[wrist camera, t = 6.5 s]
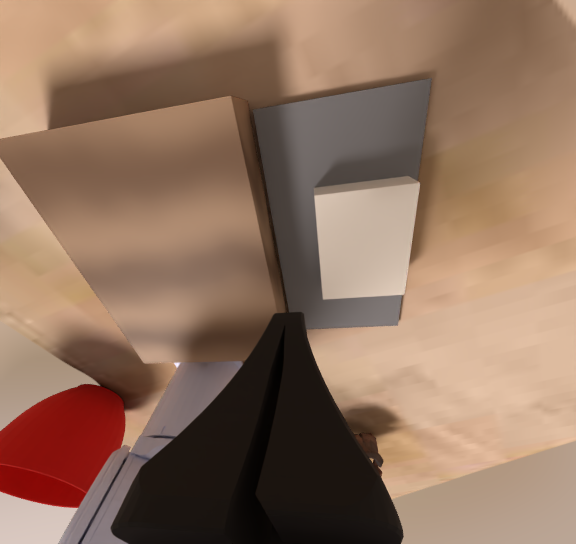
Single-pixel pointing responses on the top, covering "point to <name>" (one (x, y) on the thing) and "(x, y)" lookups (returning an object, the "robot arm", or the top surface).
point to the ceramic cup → (61, 445)
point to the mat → (335, 182)
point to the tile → (365, 236)
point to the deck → (162, 224)
